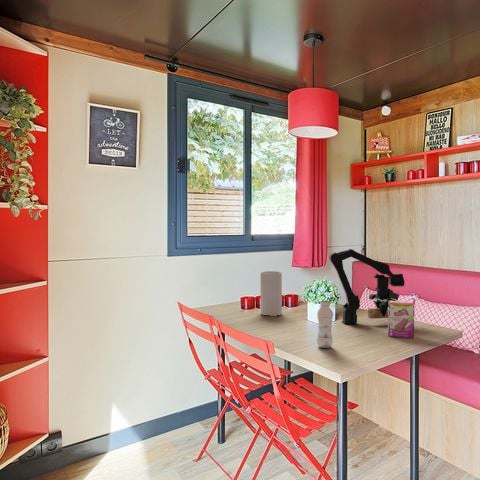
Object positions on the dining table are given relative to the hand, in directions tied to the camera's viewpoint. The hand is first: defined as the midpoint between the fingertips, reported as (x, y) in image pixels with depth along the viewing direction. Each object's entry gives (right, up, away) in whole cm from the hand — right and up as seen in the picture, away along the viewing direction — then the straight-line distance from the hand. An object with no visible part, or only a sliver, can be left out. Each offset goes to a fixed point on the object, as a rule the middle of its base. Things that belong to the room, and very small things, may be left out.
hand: (382, 315), depth 199 cm
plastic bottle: (-39, -6, -37) cm, 54 cm away
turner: (+1, -1, 0) cm, 1 cm away
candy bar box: (0, -6, -22) cm, 23 cm away
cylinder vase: (-57, -4, +24) cm, 62 cm away
